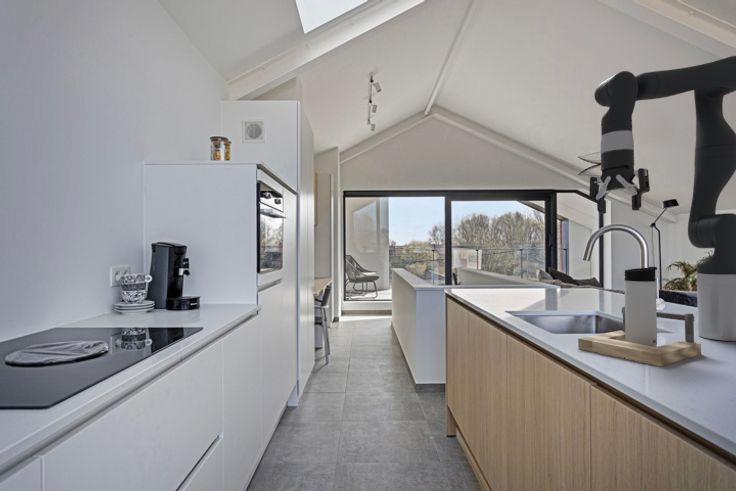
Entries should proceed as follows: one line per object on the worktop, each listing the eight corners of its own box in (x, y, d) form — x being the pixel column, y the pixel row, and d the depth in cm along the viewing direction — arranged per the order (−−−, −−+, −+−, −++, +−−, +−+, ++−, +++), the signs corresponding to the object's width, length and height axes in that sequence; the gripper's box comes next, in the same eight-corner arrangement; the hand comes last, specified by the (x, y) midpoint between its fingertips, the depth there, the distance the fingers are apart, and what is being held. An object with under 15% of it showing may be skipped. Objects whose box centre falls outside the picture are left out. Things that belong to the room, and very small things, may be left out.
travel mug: (664, 354, 93) (662, 267, 93) (632, 353, 94) (630, 267, 94) (651, 347, 99) (649, 266, 99) (621, 347, 100) (619, 266, 101)
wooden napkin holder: (620, 339, 108) (619, 306, 109) (702, 354, 93) (700, 314, 93) (578, 348, 99) (577, 312, 100) (660, 366, 84) (659, 322, 84)
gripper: (654, 146, 103) (655, 210, 103) (598, 158, 116) (600, 214, 115) (638, 143, 100) (639, 208, 99) (582, 155, 112) (584, 214, 112)
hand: (618, 212), depth 107 cm, fingers open, 8 cm apart
